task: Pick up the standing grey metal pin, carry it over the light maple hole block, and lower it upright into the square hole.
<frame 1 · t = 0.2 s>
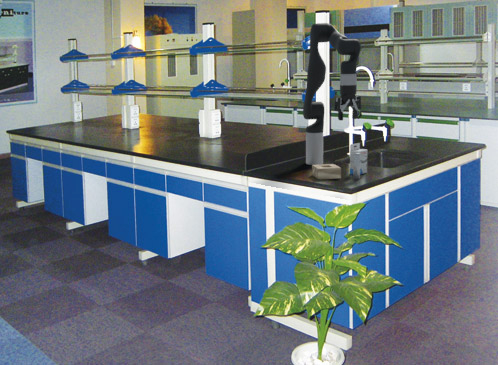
hand: (347, 119, 280), 28 cm above the countertop, fingers open, 8 cm apart
hole block: (326, 176, 293), on the countertop
ink box: (358, 173, 299), on the countertop
metal pin: (356, 178, 288), on the countertop
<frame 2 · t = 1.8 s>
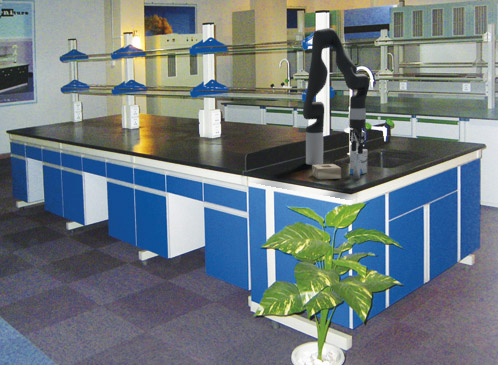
hand: (356, 152, 285), 13 cm above the countertop, fingers open, 8 cm apart
nothing on the countertop moved.
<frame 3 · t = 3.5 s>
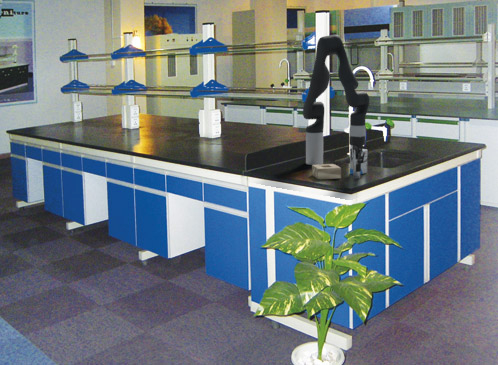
hand: (356, 170, 287), 4 cm above the countertop, fingers closed on metal pin, 3 cm apart
metal pin: (356, 178, 288), on the countertop, touching gripper
everything else where it was.
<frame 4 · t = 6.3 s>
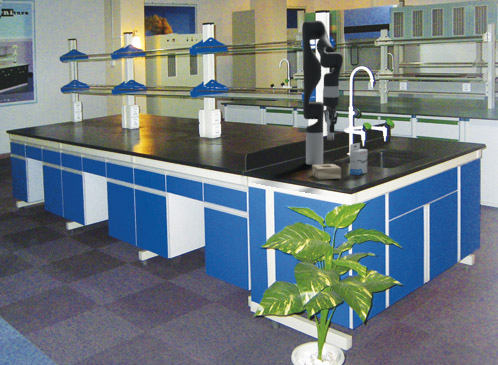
hand: (330, 132, 289), 22 cm above the countertop, fingers closed on metal pin, 3 cm apart
metal pin: (330, 139, 290), point 18 cm above the countertop, touching gripper
everything else where it was.
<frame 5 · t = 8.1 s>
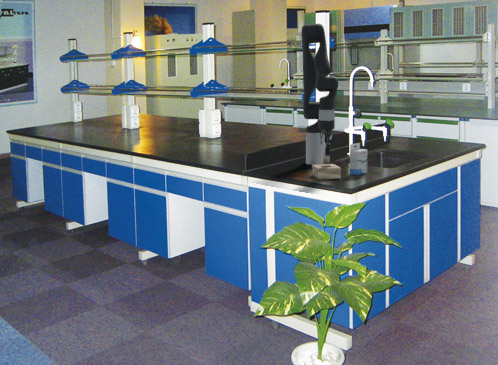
hand: (326, 154, 291), 11 cm above the countertop, fingers closed on metal pin, 3 cm apart
metal pin: (326, 162, 292), point 7 cm above the countertop, touching gripper
everything else where it was.
when the fingers open (6 cm above the countertop, at t = 9.3 s): metal pin drops 2 cm, resting in hole block.
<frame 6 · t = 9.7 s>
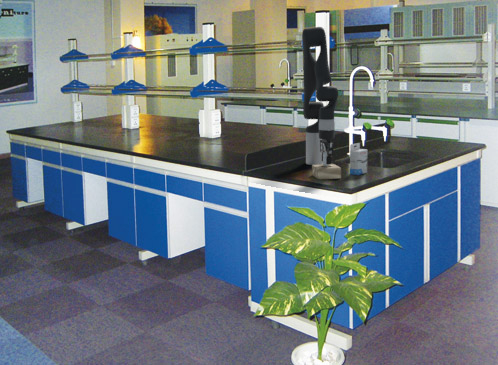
hand: (326, 162, 292), 7 cm above the countertop, fingers open, 7 cm apart
metal pin: (326, 176, 293), resting in hole block
everything else where it was.
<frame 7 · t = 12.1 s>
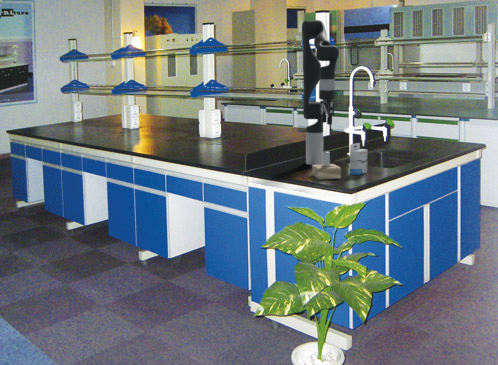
hand: (326, 123, 288), 26 cm above the countertop, fingers open, 8 cm apart
nothing on the countertop moved.
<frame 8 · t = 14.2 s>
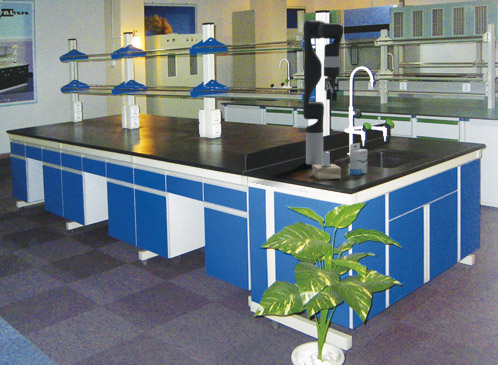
hand: (331, 100, 294), 36 cm above the countertop, fingers open, 8 cm apart
nothing on the countertop moved.
at the end: metal pin 0.0 cm off-centre on the hole block, point 0.0 cm above the hole block's base; metal pin tilted 0°; the gripper is holding nothing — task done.
